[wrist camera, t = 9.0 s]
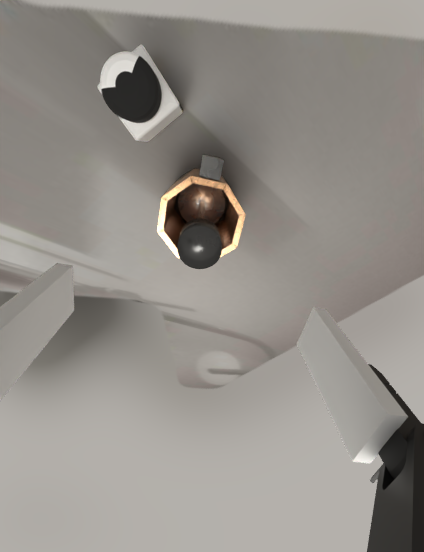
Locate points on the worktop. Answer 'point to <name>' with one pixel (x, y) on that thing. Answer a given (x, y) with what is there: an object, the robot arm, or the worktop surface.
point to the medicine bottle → (138, 93)
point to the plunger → (200, 225)
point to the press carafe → (206, 176)
